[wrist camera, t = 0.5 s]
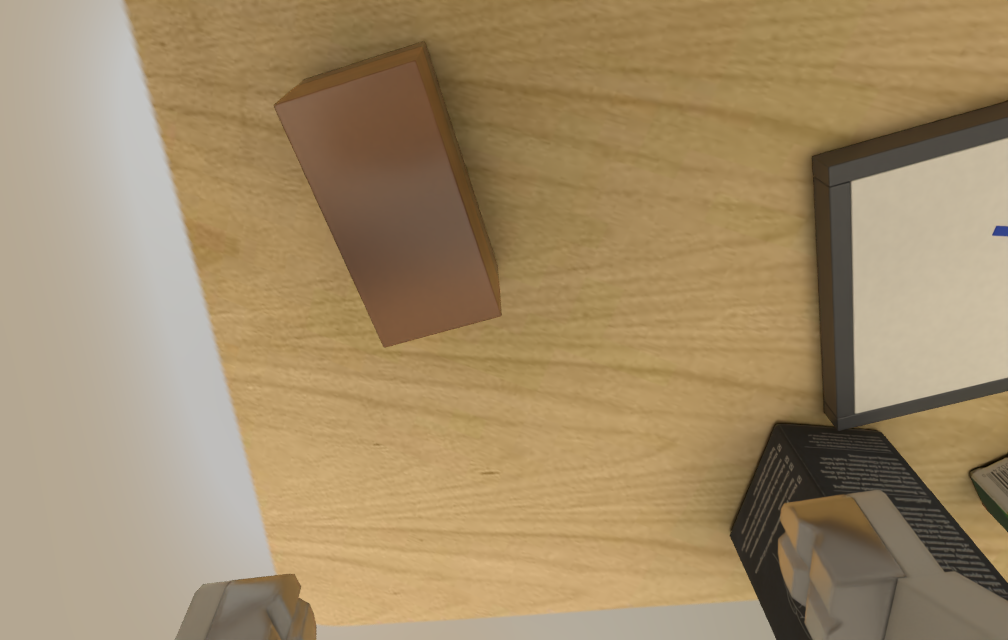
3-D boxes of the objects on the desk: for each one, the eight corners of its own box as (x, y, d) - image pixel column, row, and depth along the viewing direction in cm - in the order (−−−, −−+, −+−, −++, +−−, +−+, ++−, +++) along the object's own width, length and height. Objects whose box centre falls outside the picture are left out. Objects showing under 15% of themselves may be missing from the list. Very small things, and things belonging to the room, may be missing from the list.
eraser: (302, 79, 23) (272, 105, 20) (424, 40, 23) (415, 59, 19) (394, 296, 27) (383, 348, 24) (498, 267, 27) (502, 316, 24)
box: (824, 538, 36) (944, 742, 27) (725, 532, 36) (813, 739, 26) (884, 427, 32) (1047, 621, 23) (774, 418, 32) (896, 614, 23)
